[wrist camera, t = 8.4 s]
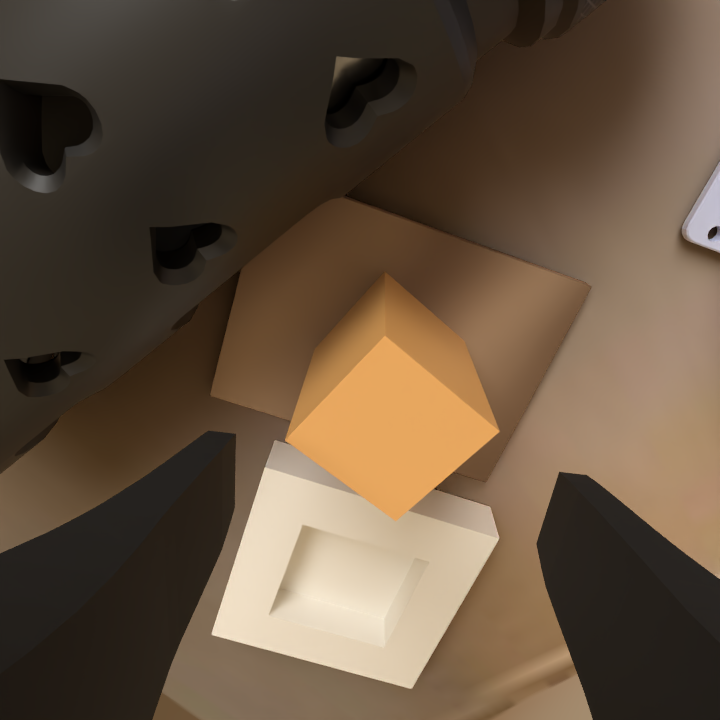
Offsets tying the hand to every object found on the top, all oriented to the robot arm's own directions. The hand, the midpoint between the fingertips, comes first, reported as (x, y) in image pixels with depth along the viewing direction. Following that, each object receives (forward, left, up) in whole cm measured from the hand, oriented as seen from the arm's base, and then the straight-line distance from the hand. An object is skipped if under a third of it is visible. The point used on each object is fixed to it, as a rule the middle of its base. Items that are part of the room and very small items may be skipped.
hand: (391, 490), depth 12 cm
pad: (0, 0, -9) cm, 9 cm away
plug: (0, 0, -9) cm, 9 cm away
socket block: (-2, +11, -9) cm, 15 cm away
